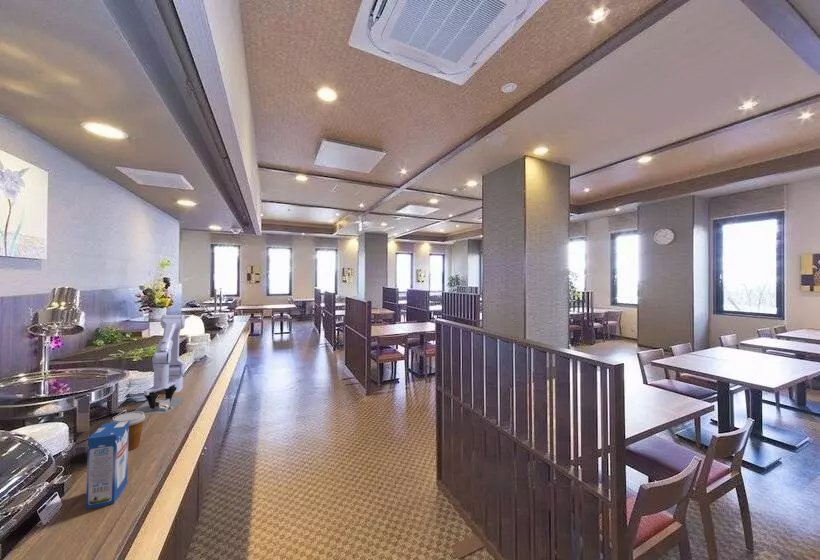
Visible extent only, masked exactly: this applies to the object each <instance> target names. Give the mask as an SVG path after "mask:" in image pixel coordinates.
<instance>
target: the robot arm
mask: <svg viewBox="0 0 820 560" xmlns="http://www.w3.org/2000/svg"><path fill="white" fill-rule="evenodd" d="M185 324H186V316H185V315H184V314H162V315H161V317H160V326H161V328H162V329H163V332H162V333H163V334H162V338H161V339H159V341H158V344H157V347H156V348H157V349H156V351H155V353H153V355H152V360H151V361H152V368H153V386H152V387H149V388H148V389H145V390H143V396H144V397H145V399H146V400H147V401H148V403H149V406H150V408H151V409H154V408H155V402H156V399H157V398H158V394H157V392H160V391H163V390H164V393H165V398H169V399H170V402H171V399H172V398H173V395H174V394H176V393H179V392H181V390H182V389H184V377H183V376H184V375H185V371H186V365H185V361H184V360H182V359H181V358H180V333H181V330H183V329H184V328H185V326H186V325H185ZM147 401H146V402H147Z"/></svg>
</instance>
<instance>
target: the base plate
mask: <svg viewBox="0 0 820 560" xmlns="http://www.w3.org/2000/svg"><path fill="white" fill-rule="evenodd" d="M185 399H186V396H185V397H172V399H171V402H170V406H173V409H169V406H166V408H168V411H162V410H160V411H156V410H151V408H150V406H149V403H148V401H145V402H144V403H143V404H141V405H140V406H138V407H137V408H136V409H135V410H134V411H132V412H137V411H138V412H143V413H144V415H157V414H158V415H159V414H169V413H170V412H172V410H174V409H175V408H176V407H178V405H179V404H180V403H181V402H182V401H183V400H185ZM158 401H162V400H158Z"/></svg>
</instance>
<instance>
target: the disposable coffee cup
mask: <svg viewBox="0 0 820 560" xmlns="http://www.w3.org/2000/svg"><path fill="white" fill-rule="evenodd" d="M145 419H146V414H144V413H143V412H138V411H137V412H133V411H129V412H123V413H122V414H119V415H116V416H115V417H114V418H113V421H112V422H111V423H114V422H123V421H129V440H128V452H129V451H133V450H135V449H137V448H139V446H140V443H141V442H140V441H141V437H142V432H143V431H142V430H143V425H144V421H145Z"/></svg>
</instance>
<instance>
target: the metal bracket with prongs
mask: <svg viewBox="0 0 820 560" xmlns="http://www.w3.org/2000/svg"><path fill="white" fill-rule="evenodd" d="M158 400H162V401H158ZM166 406H169V409H172V410H174V409H173V406H170V399H169V398H166V397H159V398H158V397H157V398H156V402H155V408H154V409H151V410H156V411H160V410H162V411H168V408H166Z"/></svg>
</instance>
